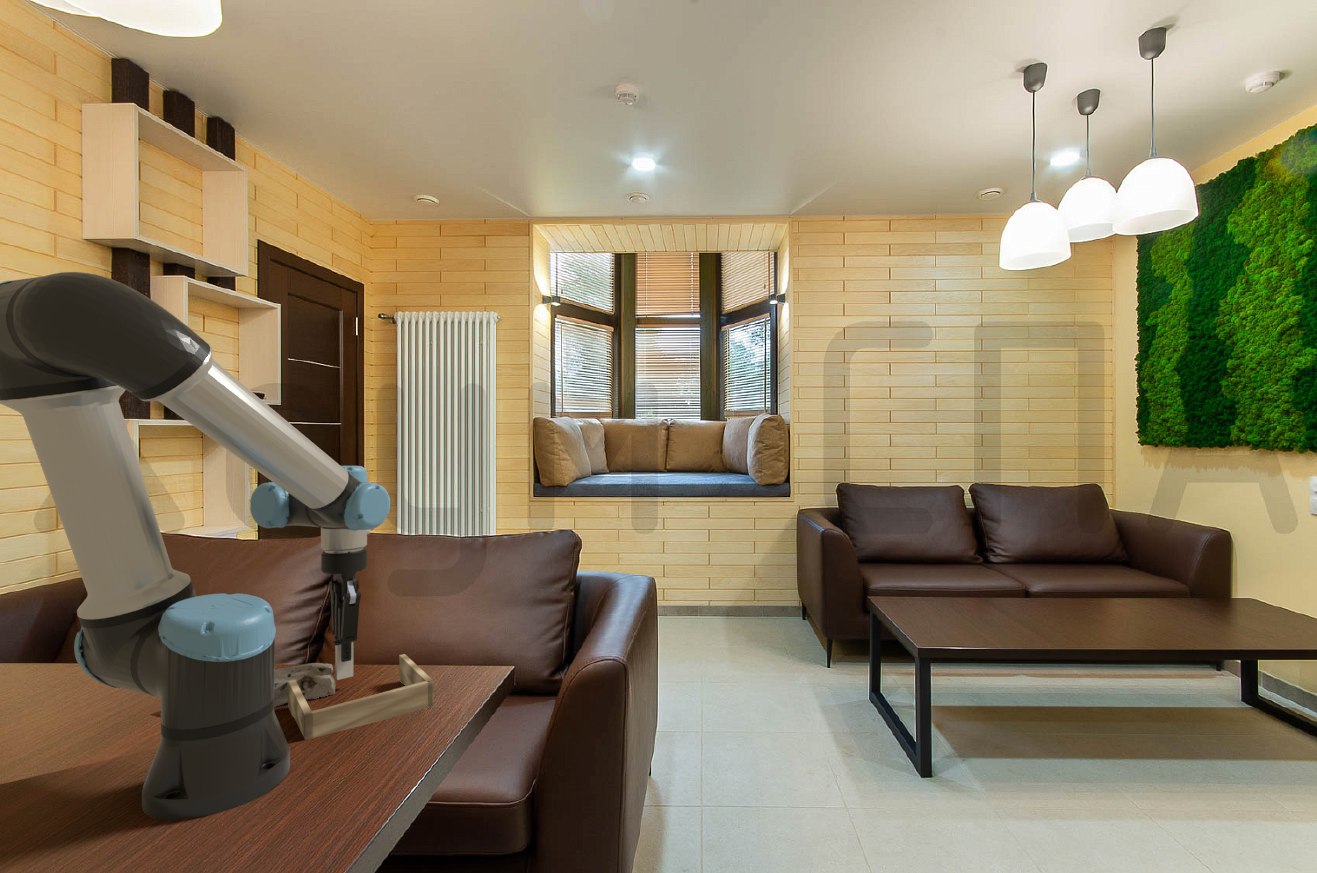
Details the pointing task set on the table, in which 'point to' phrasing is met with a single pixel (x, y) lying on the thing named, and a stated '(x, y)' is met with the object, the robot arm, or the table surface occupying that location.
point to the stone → (304, 681)
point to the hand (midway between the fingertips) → (344, 676)
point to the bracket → (364, 704)
